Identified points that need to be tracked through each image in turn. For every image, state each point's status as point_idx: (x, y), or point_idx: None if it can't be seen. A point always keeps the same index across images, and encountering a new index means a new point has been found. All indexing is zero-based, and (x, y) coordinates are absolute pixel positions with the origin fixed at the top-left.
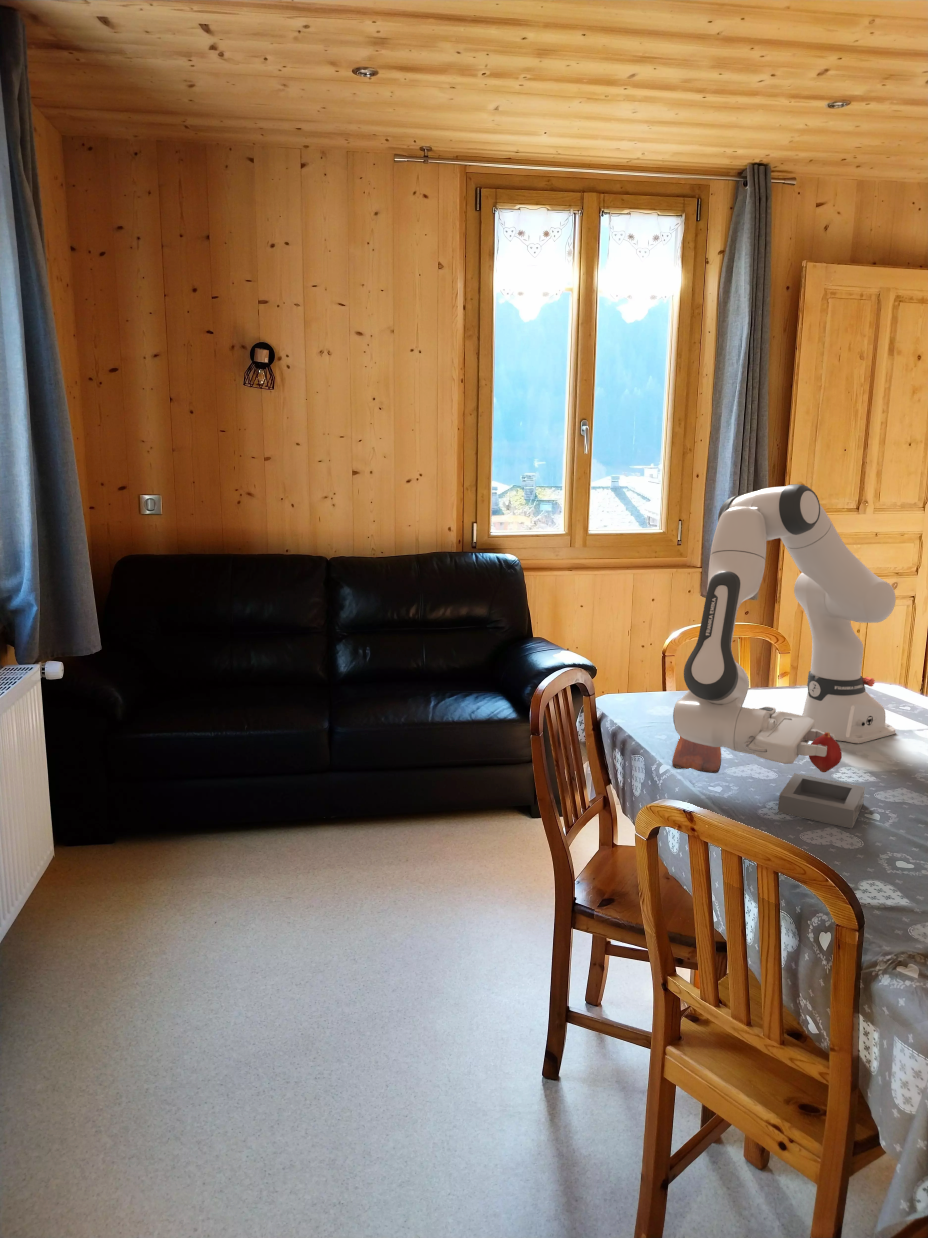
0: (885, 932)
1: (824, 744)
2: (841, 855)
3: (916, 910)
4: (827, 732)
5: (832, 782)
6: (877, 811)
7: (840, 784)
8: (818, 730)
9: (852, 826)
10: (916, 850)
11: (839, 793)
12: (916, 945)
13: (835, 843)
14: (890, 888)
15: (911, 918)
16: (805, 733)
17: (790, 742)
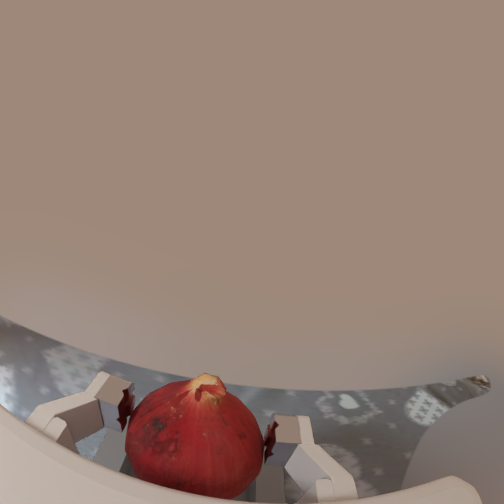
0: (468, 393)
1: (251, 422)
2: (384, 457)
3: (425, 385)
4: (215, 378)
5: (107, 463)
6: None
7: (116, 449)
8: (49, 404)
9: None
10: (293, 391)
11: (129, 462)
12: (461, 379)
13: (352, 474)
14: (411, 404)
15: (438, 386)
16: (169, 488)
17: (439, 499)
